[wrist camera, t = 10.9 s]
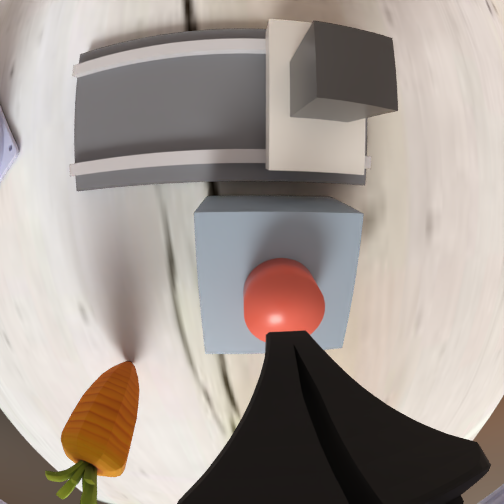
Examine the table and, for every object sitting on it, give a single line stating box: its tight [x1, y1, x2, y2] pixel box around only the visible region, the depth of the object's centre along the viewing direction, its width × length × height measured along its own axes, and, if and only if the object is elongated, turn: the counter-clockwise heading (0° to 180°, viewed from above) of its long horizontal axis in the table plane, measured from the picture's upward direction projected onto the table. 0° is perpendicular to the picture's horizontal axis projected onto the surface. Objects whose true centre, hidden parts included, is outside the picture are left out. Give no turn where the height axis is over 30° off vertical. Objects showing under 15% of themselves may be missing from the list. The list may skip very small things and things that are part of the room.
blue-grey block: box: [194, 195, 363, 354], centre depth 16 cm, size 8×8×5 cm
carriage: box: [265, 19, 398, 175], centre depth 11 cm, size 5×8×7 cm, turn 0°
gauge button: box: [243, 258, 325, 342], centre depth 13 cm, size 4×4×2 cm
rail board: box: [70, 29, 371, 191], centre depth 15 cm, size 19×10×2 cm, turn 90°
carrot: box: [45, 361, 139, 504], centre depth 15 cm, size 5×5×15 cm
